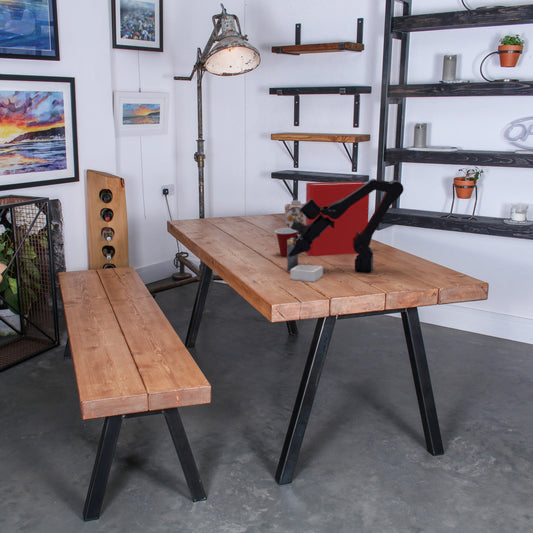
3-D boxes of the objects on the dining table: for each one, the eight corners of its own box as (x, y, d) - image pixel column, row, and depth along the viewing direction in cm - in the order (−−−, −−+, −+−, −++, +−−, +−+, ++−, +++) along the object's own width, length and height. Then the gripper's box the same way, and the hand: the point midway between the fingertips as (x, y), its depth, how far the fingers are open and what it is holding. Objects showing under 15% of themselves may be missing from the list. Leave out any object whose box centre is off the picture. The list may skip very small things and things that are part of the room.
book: (360, 249, 290) (362, 181, 282) (367, 253, 282) (369, 183, 274) (304, 252, 284) (305, 182, 276) (309, 256, 276) (310, 184, 269)
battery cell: (299, 269, 253) (299, 237, 250) (295, 271, 249) (295, 239, 246) (289, 268, 255) (290, 236, 252) (285, 270, 251) (285, 238, 248)
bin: (322, 276, 242) (322, 266, 241) (313, 282, 234) (313, 272, 233) (300, 273, 246) (300, 264, 245) (290, 279, 238) (290, 269, 237)
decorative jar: (307, 237, 320) (307, 202, 315) (284, 237, 320) (284, 202, 315) (306, 232, 331) (306, 199, 327) (284, 232, 331) (284, 199, 327)
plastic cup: (271, 254, 281) (271, 228, 278) (293, 252, 284) (293, 226, 282) (280, 259, 271) (280, 232, 268) (302, 257, 275) (302, 230, 272)
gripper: (303, 210, 255) (276, 236, 259) (302, 217, 237) (273, 245, 241) (321, 229, 257) (295, 254, 260) (322, 237, 238) (293, 265, 242)
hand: (289, 254), depth 251 cm, fingers open, 6 cm apart
